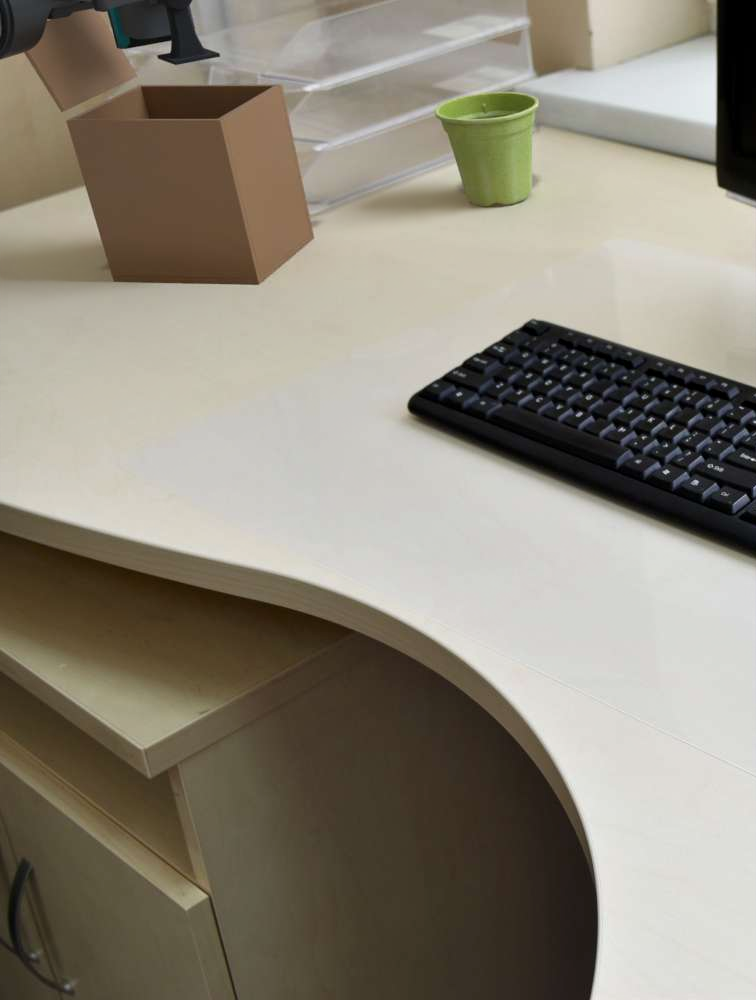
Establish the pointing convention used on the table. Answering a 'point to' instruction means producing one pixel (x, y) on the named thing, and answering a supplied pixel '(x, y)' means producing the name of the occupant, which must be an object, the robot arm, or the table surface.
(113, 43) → the flap
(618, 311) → the table surface
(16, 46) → the robot arm
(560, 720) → the table surface
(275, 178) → the carton
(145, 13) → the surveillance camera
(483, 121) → the plant pot
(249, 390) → the table surface
